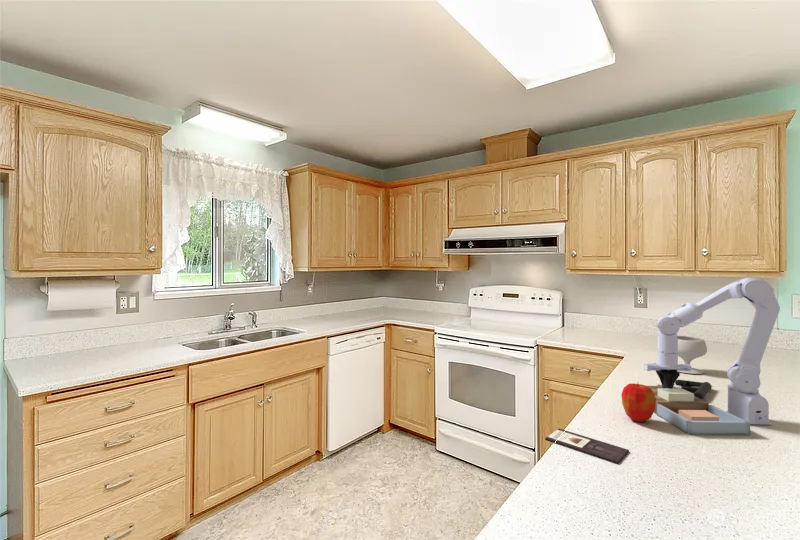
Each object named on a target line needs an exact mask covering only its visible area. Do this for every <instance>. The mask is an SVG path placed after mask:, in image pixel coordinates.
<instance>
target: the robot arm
mask: <svg viewBox="0 0 800 540" xmlns="http://www.w3.org/2000/svg"><path fill="white" fill-rule="evenodd" d="M774 290H775V289H774V287H772V286H771V284H769V283H768V282H767V280H764V279H763V278H759V277H750V276H747V277H742V278H740V279H738V280H736V281H733V282H730V283H729V284H727V285H725V286H722V287H721V288H719V289H718V290H716V291H714V292H713V293H712V294H709V295H708V296H706V297H705V298H703V299H701V300H700V301H698V302H696V303H694V302H693V303H691V302H687V303H682V304H680V307H678V308H677V309H674V310H673V311H672V312H670V311H669V312H667V313H666V315H664V316H661V317H659V318H658V320H657V323H656V327H657V329H658V331H657V351H656V352H657V356H656V357H657V358H656V362H655V363H654V362H653V363H644V364H643V370H644V371H647V372H651V371H655V373H656V374H657V377H658V378H659V381H660V383H661V385H662V387H663V388H673V386H674V385H675V381H676V380H678V378H679V377H680V376H681V375H680V374H681V372H677V371H691V367H692V365H691V364H690V365H688V364H685V363H679V356H678V339H677V336H678V333H679V331H680V328H684V327H686V326H689V325H690V324H692V323H694V322H696V321H697V320H699V319H701V318H703V315H704V314H703V313H704V312H705V311H708V310H710V309H712V308H714V307H716V306H717V305H719V304H722V303H723V302H726V301H727V300H732V299H743V298H745V299H746V300H747V301H749V303H750V304H751V305H752V306H753V307H754V308H755V312H754V314H753V317H752V321H751V322H750V325H749V328H748V331H747V333H746V337H745V340H744V343H743V344H742V348H741V351H740V353H739V356H737V358H736V359H735V360H734V364H733V365H732V366H731V367H729V368H728V369H727V371H726V376H727V377H728V379H729V381H730V383H729V384H728V385H727V410H725V411H726V412H728V413H730V414H732V415H735V416H737V417H739V418H741V419H743V420H745V421H748V422H750V425H768V426H769V425H772V422H770V421H769V413H770V412H769V410H770V409H769V407H770V406H769V402H768V400H767V399H766V398H765V397H764V396H762V395H761V394H760V390H759V388H760V386H761V380H760V375H761V362H762V359H763V357H764V354H765V351H766V348H767V346H768V343H769V340H770V338H771V335H772V332H773V330H774V328H775V327H774V326H775V324H776V321H777V318H778V317H779V313H780V311H781V307H780V303H779V302H778V299H777V297H776V294H775V291H774Z"/></svg>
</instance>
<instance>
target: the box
mask: <svg viewBox="0 0 800 540" xmlns="http://www.w3.org/2000/svg"><path fill="white" fill-rule="evenodd" d="M726 411H727V410H723V409H722V408H720V407H717V406H715V405H714V404H713V405H712V404H709V405H708V412H710V413H712V414H714V415H716V416H718V417H719V421H689V420H688V419H686V418H684V417H682V416H680V415H679V414H677V413H675V412H673V411H671V410H670V409H668V408H666V407H664V406H662V405H661V404H657V414H656V416H658V417H660V418H661V419H663V420H664V421H665V422H667V423H669V424H670V425H672V426H674V427H676V428H677V429H679V430H680V431H682V432H684V433H686V434H687V435H704V436H705V435H709V436H711V435H714V436H718V435H719V436H721V435H722V436H751V424H750V422H748V421H745V420H743V419H741V418H739V417H737V416H735V415H732V414H730V413H728V412H726Z"/></svg>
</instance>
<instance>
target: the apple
mask: <svg viewBox="0 0 800 540" xmlns="http://www.w3.org/2000/svg"><path fill="white" fill-rule="evenodd" d="M648 386H649V385H645V384H643V383H628V384H626V385H625V386H624V387H623V388H622V391H621V403H622V407H623V409H624V412H625V414H626V416H628V418H629V419H630V420H631V421H633V422H636V423H637V422H638V423H644V422H646V421H648V420H649V419H650V420H651V419H652V417H653V415H654V410H655V405H656V397H655V395H654V392H653V391H652V390H651V389H650V388H649V387H648Z"/></svg>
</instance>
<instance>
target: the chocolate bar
mask: <svg viewBox="0 0 800 540" xmlns="http://www.w3.org/2000/svg"><path fill="white" fill-rule="evenodd" d="M564 431H565V429H562V428H557V429H556V430H555V431H554V432H551V433H550V434H549V435H548V436H546V437H544V438H545V439H544V440H545V441H546V442H550V443H553V444H556V445H559V446H561V447H565V448H567V449H571V450H573V451H577V452H579V453H582V454H586V455H588V456H591V457H595V458H598V459H600V460H604V461H606V462H610V463H612V464H615V465H619V464H620V463H621V462H622V460H623V459H624V458H625V457H626V456H627V455H628V453H629V452H630V449H627V448H625V447H620V446H618V445H614V444H612V443H608V442H605V441H600V440H598V439H595V438H592V437H588V436H585V435H581V434H578V433H575V432H571V431H568V430H566V431H565V432H564ZM563 432H564V433H563ZM562 433H563V434H562ZM561 434H562V435H561ZM560 435H561V436H560ZM559 437H560V438H559ZM558 438H559V439H558ZM557 439H558V440H557ZM556 440H557V441H556ZM555 441H556V443H554V442H555Z"/></svg>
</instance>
